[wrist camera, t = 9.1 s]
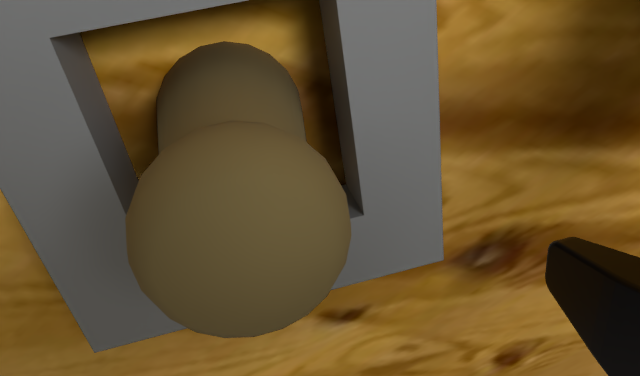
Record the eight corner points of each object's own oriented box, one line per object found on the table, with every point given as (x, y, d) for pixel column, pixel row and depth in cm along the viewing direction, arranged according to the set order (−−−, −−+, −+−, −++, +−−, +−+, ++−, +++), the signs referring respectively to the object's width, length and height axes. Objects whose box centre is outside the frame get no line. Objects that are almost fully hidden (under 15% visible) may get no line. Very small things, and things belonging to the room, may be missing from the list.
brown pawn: (255, 202, 21) (288, 406, 11) (129, 139, 18) (32, 331, 9) (328, 94, 19) (442, 222, 10) (202, 9, 17) (183, 67, 7)
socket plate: (395, -144, 16) (431, -166, 13) (418, 226, 23) (443, 259, 21) (-83, -68, 14) (-152, -76, 11) (109, 305, 22) (94, 352, 19)
